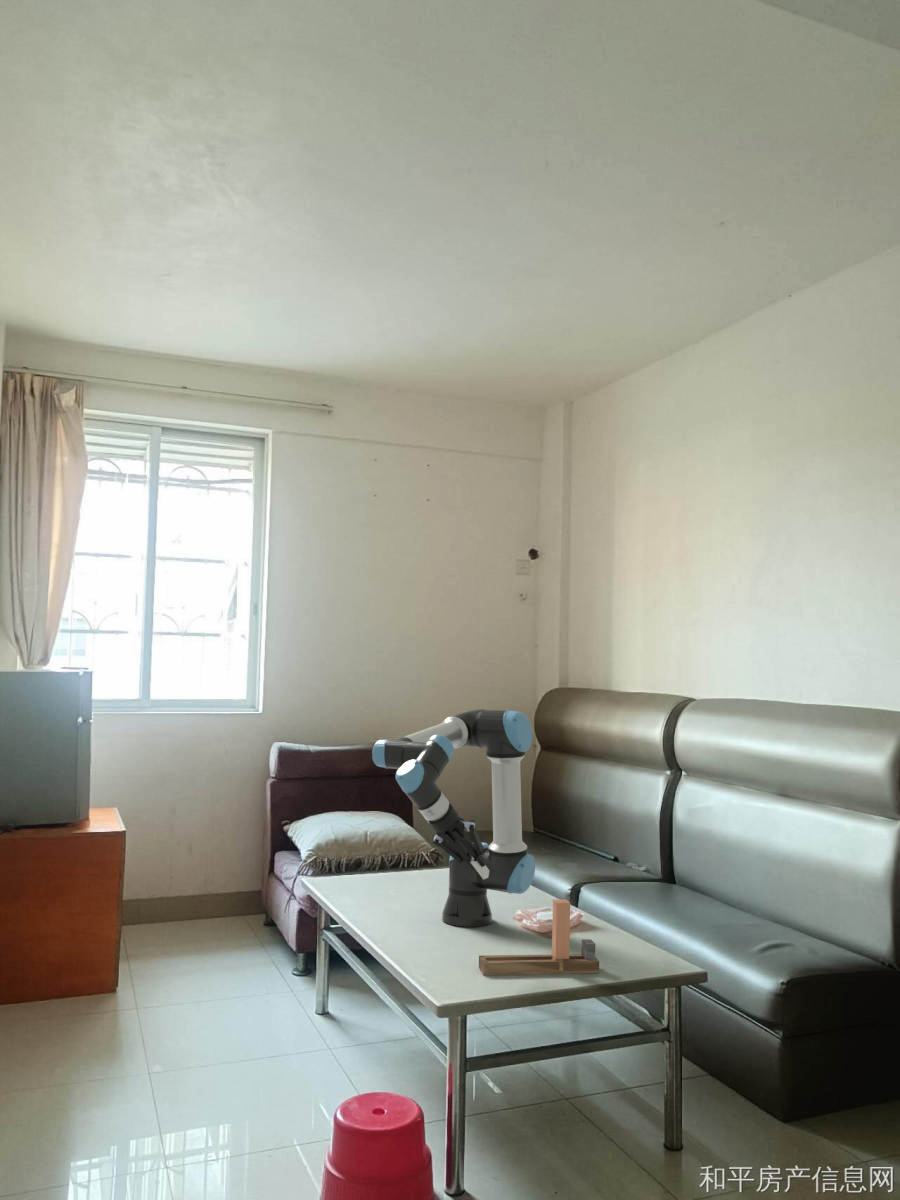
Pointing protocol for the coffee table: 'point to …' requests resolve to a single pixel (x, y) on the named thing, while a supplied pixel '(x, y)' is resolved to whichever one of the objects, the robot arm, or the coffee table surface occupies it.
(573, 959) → the beam
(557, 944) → the block
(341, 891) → the coffee table surface
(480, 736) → the robot arm
